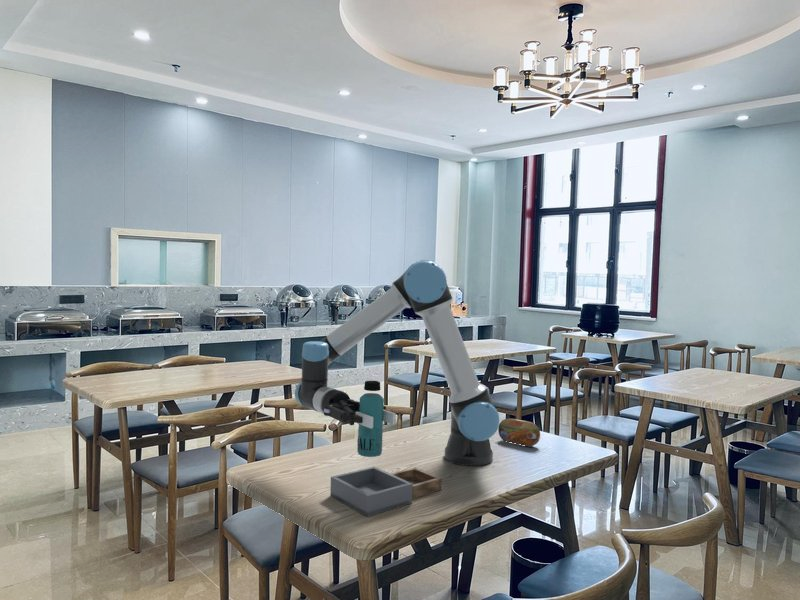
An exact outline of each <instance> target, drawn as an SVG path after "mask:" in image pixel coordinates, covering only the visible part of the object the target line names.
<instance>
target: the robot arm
mask: <svg viewBox="0 0 800 600" xmlns="http://www.w3.org/2000/svg"><path fill="white" fill-rule="evenodd" d="M447 282H448V281H447V276H446V273H445V271H444V269H443V268H442V267H441V266H440V265H439V264H437V263H436V262H434V261H431V260H428V259H427V260H426V259H424V260H419V261H416V262H414V263H412V264H411V265H410V266H408V268H407V269H406V271H404V273H403V274H401V276H399V278H397V279H396V280H394V281H393V282H391V288H390V289H388V290H387V291H385V292H383V294H381V295H380V296H379V297H377V298H376V299H374V300H373V301H372V302H370V303H369V304H368V305H366V306H365V307H364V308H362V309H361V310H360V311H358V312H357V313H356V314H355V315H353V316H352V317H351V318H349V319H348V320H347V321H345V322H343V324H341V325H340V326H338V327H337V328H336V329H334V330H333V331H331V332H330V333H329V334H328V335H326V336H325V337H324V338H322V339H321V340H320V341H313V340H312V341H306V342H304V343H303V344H302V349H301V350H302V352H301V379H300V380H301V381H300V383H298V384H297V385H296V387H295V390H294V398H295V401H296V402H297V403H298V404H299V405H300V406H302V407H304V408H306V409H309V410H312V411H315V412H317V413H320V414H322V415H324V416H325V417H330V418H333V419H335V420H336V421H339V422H341V423H343V424H346V423H347V422H348V425H349V426H354V425H355V424H358V425H359V424H360V425H363V426H365V427H368V428H373V417H372V416H369V415H366V414H363V413H361V412H359V407H360V401H358V400H355V399H351V397H350V396H349V395H348V393H347V392H345V391H341V390H339V389H337V388H333V387H330V386H328V375H329V366H330V364H332V363H333V362H334V361H335V360H338V359H339V358H340V357H341V356H342V355H344V354H345V353H346V352H348V351H349V350H350V349H352V348H353V347H354V346H356V345H358V344H359V343H360V342H361V341H363V340H364V339H365V338H367V337H368V336H369V335H371V334H372V333H373V332H375V331H376V330H378V329H379V328H380V327H381V326H383V325H384V324H386V323H387V322H388V321H390V320H391V319H393V317H395V316H396V315H398V314H400V313H401V312H402V311H403V310H405V309H411V308H412V309H413V311H414V313H415V315H418V316H420V317H421V319H422V320H423V324H424V325H425V329H426V330H427V333H428V337H429V339H430V341H431V344H432V346H433V349H434V352H435V354H436V357H437V359H438V362H439V364H440V368H441V370H442V372H443V375H444V378H445V380H446V383H447V385H448V388H449V390H450V395H449V397H448V403H449V405H450V409H451V412H450V413H451V414H450V415H451V417H450V434H449V438H448V440H447V444H446V446H445V448H444V458H445V460H446V461H448V462H451V463H453V464H457V465H463V466H484V465H487V464H490V463H492V461H493V457H494V453H493V449H492V448H491V442H490V438H492V437H493V436H494V435H495V434H496V433H497V431H498V428H499V424H500V415H499V412H498V409H496V407H495V405H494V402H493V400H492V398H491V394H490V388H489V387H487V386H486V385H484V384H483V383H480V381H479V379H478V376H477V374H476V371H475V367H474V366H473V363H472V361H471V358H470V355H469V353H468V351H467V347H466V345H465V343H464V340H463V338H462V335H461V332H460V330H459V326H458V324H457V322H456V318H455V316H454V314H453V311H452V309H451V304H452V302H453V296H452V294H451V291H450V288H449V285H448V283H447ZM396 415H397V414H396V413H395V412H392V411H391V410H390V411H389V410H387V406H385V405H384V406H383V423H388V424H390V425H396V419H397V418H396Z"/></svg>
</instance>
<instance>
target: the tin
mask: <svg viewBox="0 0 800 600" xmlns="http://www.w3.org/2000/svg"><path fill="white" fill-rule="evenodd" d="M497 431H498V435H499V438H500V439H501V440H502V441H503V442H505V441H507V442H512V443H516V444H521V445H525V446H529V447H528V448H531V447H533V446H535V445H537V444H538V443H539V441H540V439H541V430H540V428H539V427H538V426H537V424H535V422H532V421H527V420H522V419H521V420H520V419H517V418H505V419H502V420H501V421H500V422H499V427H498V429H497ZM507 442H506V443H507ZM516 444H515V445H516Z"/></svg>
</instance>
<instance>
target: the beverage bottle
mask: <svg viewBox="0 0 800 600" xmlns="http://www.w3.org/2000/svg"><path fill="white" fill-rule="evenodd" d="M363 386H364V387H363V390H364V391H368V393H367V392H366V393H364V394H362V396H360V398H359V402H360V407H359V412H361V413H363V414H366V415H369V416H372V417H373V428H368V427H365V426H363V425H360V424H358V428H357V433H358V434H357V439H356V440H357V446H356V447H357V448H356V449H357V455H359V456H361V457H364V458H365V457H367V458H374V457H379V456H381V455H382V453H383V434H384V431H383V429H384V428H383V426H384V425H383V424H384V421H383V406H385V405H384V404H385V398H384V397H383V396H382V395H381V394H379V393H375V392H379V391H381V382H380V381H378V380H366V381H365V382H364V385H363Z"/></svg>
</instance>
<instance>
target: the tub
mask: <svg viewBox="0 0 800 600" xmlns="http://www.w3.org/2000/svg"><path fill="white" fill-rule="evenodd" d="M413 485H414V484H413V483H412V482H410V481H406V480H403V479H401V478H399V477H397V476H394V475H392V474H391V473H390V472H387V471H386V470H383V469H381V468H379V467H377V466H371V467H367V468H362V469H358V470H352V471H351V472H350V471H349V472H346V473H345V472H344V473H341V474H338V475H333V476H332V475H331V476H330V494H329V495H330V497H331V498H334V500H337V501H339V502H341V503H342V504H343V505H346V506H347V507H349V508H350V509H353V510H354V511H356V512H358V513H359V514H360V515H363V516H365V517H366V518H369V517H371V516H374V515H378V514H381V513H384V512H388V511H391V509H392V510H394V508H395V509H397V507H398V508H401V507H405V506H407V505H411V504H412V503H413V498H412V487H413Z"/></svg>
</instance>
